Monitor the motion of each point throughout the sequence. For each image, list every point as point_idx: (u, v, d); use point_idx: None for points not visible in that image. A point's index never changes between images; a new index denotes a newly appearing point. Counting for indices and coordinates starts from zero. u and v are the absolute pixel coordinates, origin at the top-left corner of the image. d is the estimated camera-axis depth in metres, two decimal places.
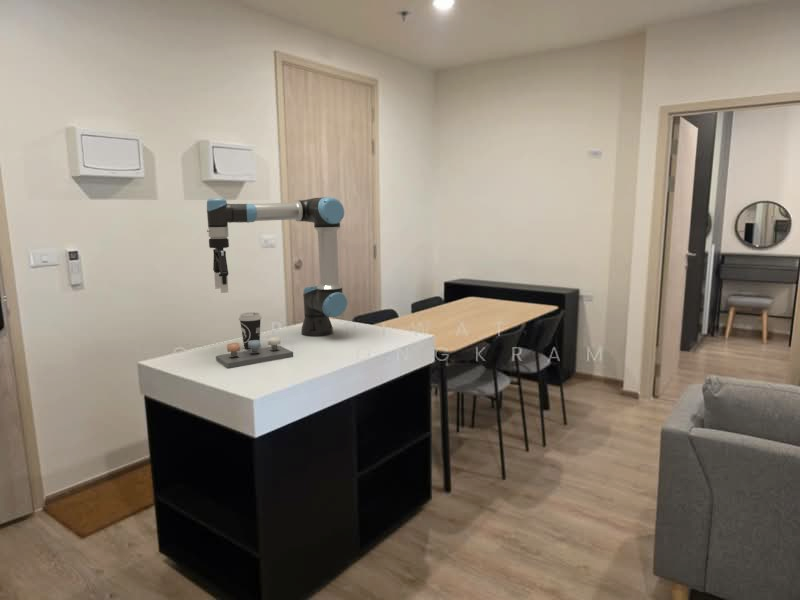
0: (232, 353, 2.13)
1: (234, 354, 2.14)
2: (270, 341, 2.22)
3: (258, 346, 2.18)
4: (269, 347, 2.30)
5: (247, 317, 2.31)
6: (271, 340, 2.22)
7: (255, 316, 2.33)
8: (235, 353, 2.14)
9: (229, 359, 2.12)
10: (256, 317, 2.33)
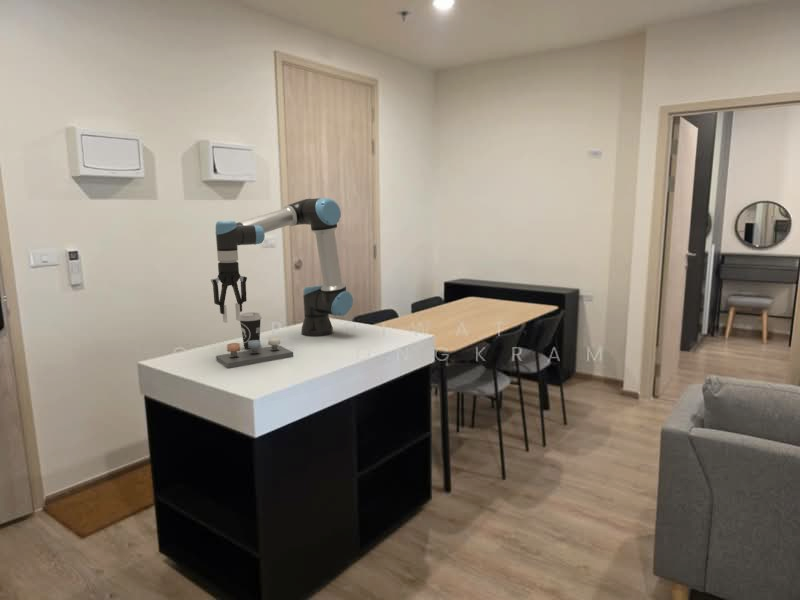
0: (232, 353, 2.13)
1: (234, 354, 2.14)
2: (270, 341, 2.22)
3: (258, 346, 2.18)
4: (269, 347, 2.30)
5: (247, 317, 2.31)
6: (271, 340, 2.22)
7: (255, 316, 2.33)
8: (235, 353, 2.14)
9: (229, 359, 2.12)
10: (256, 317, 2.33)
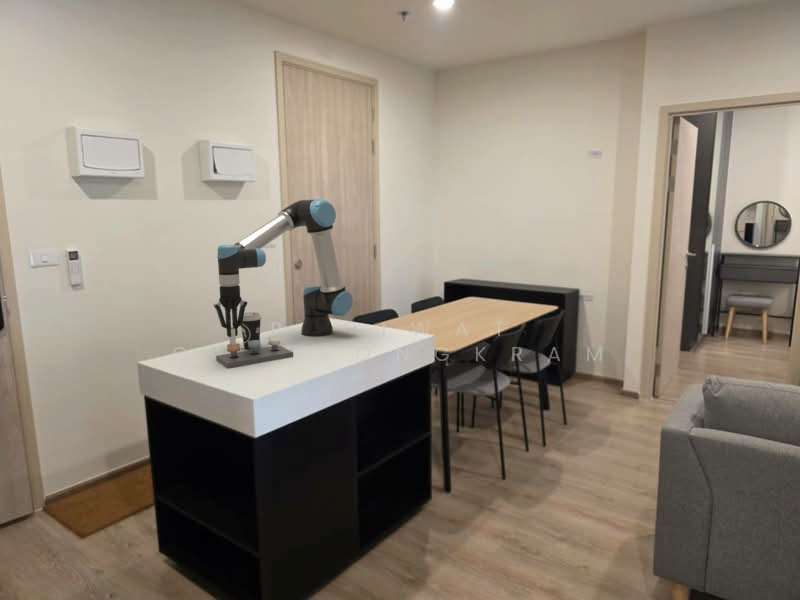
0: (232, 353, 2.13)
1: (234, 354, 2.14)
2: (270, 341, 2.22)
3: (258, 346, 2.18)
4: (269, 347, 2.30)
5: (247, 317, 2.31)
6: (271, 340, 2.22)
7: (255, 316, 2.33)
8: (235, 353, 2.14)
9: (229, 359, 2.12)
10: (256, 317, 2.33)
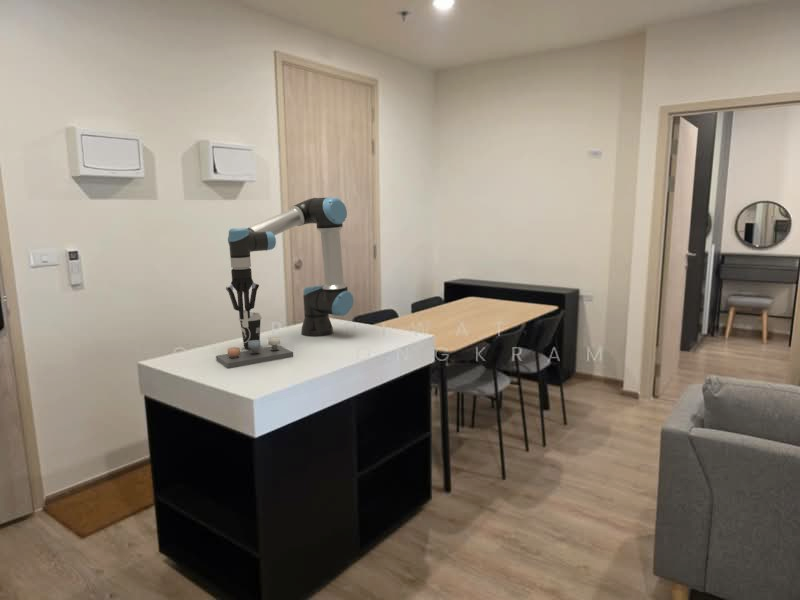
0: (232, 357, 2.14)
1: None
2: (270, 341, 2.22)
3: (258, 346, 2.18)
4: (269, 347, 2.30)
5: None
6: (271, 340, 2.22)
7: (255, 316, 2.33)
8: (235, 357, 2.14)
9: (229, 359, 2.12)
10: (256, 317, 2.33)
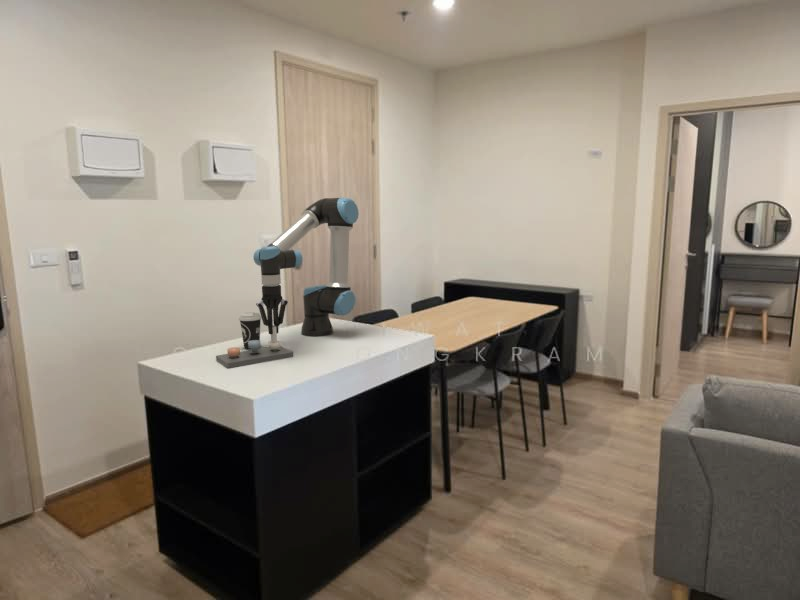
0: (232, 357, 2.14)
1: None
2: (270, 345, 2.22)
3: (258, 346, 2.18)
4: None
5: (247, 317, 2.31)
6: (271, 344, 2.22)
7: (255, 316, 2.33)
8: (235, 357, 2.14)
9: (229, 359, 2.12)
10: (256, 317, 2.33)
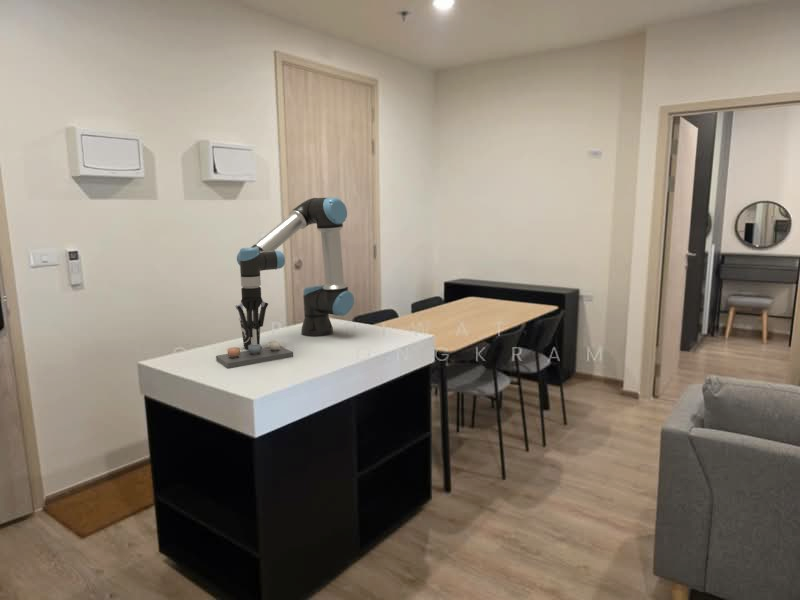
0: (232, 357, 2.14)
1: None
2: (270, 346, 2.22)
3: (258, 350, 2.18)
4: None
5: None
6: (271, 344, 2.22)
7: None
8: (235, 357, 2.14)
9: (229, 359, 2.12)
10: None
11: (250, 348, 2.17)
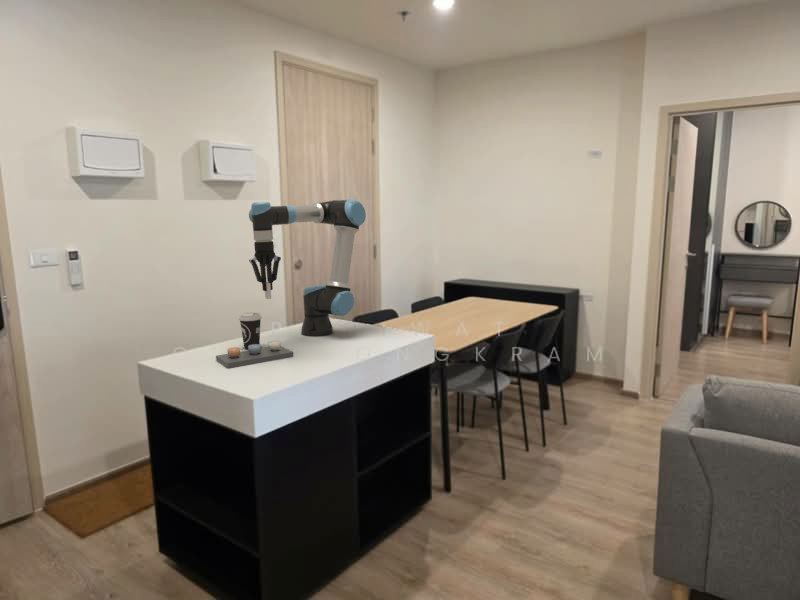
0: (232, 357, 2.14)
1: None
2: (270, 346, 2.22)
3: (258, 350, 2.18)
4: None
5: (247, 317, 2.31)
6: (271, 344, 2.22)
7: (255, 316, 2.33)
8: (235, 357, 2.14)
9: (229, 359, 2.12)
10: (256, 317, 2.33)
11: (250, 348, 2.17)
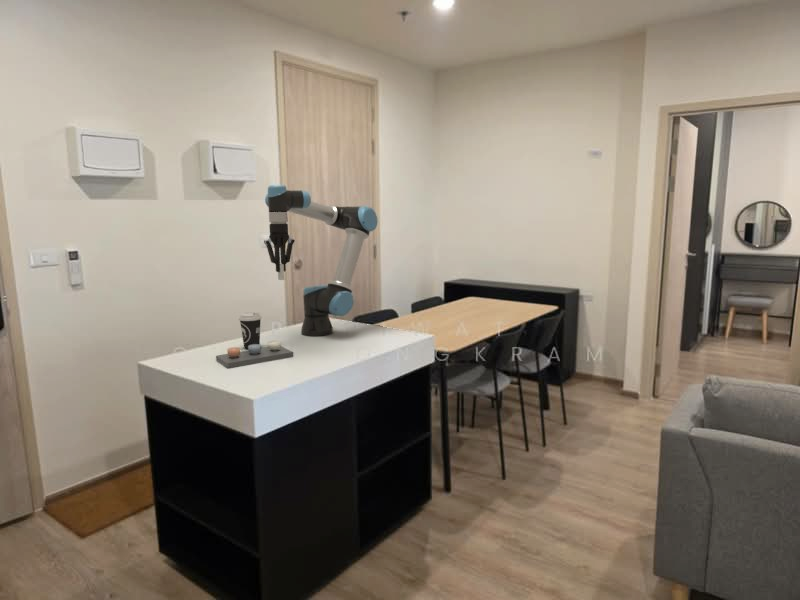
0: (232, 357, 2.14)
1: None
2: (270, 346, 2.22)
3: (258, 350, 2.18)
4: None
5: (247, 317, 2.31)
6: (271, 344, 2.22)
7: (255, 316, 2.33)
8: (235, 357, 2.14)
9: (229, 359, 2.12)
10: (256, 317, 2.33)
11: (250, 348, 2.17)
